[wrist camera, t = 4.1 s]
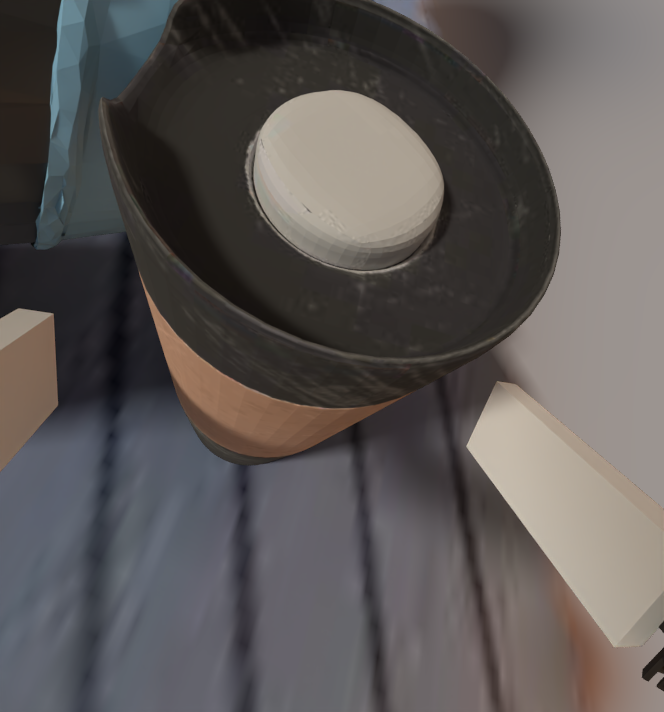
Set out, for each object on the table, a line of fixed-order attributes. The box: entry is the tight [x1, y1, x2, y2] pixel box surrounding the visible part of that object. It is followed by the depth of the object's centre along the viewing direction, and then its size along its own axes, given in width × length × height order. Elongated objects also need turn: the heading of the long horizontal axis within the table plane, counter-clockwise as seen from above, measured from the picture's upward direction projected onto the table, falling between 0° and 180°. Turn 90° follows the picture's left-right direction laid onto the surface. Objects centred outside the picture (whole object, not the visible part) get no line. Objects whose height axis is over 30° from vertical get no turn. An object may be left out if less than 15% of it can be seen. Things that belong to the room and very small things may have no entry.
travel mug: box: [98, 0, 561, 465], centre depth 15 cm, size 8×8×20 cm
